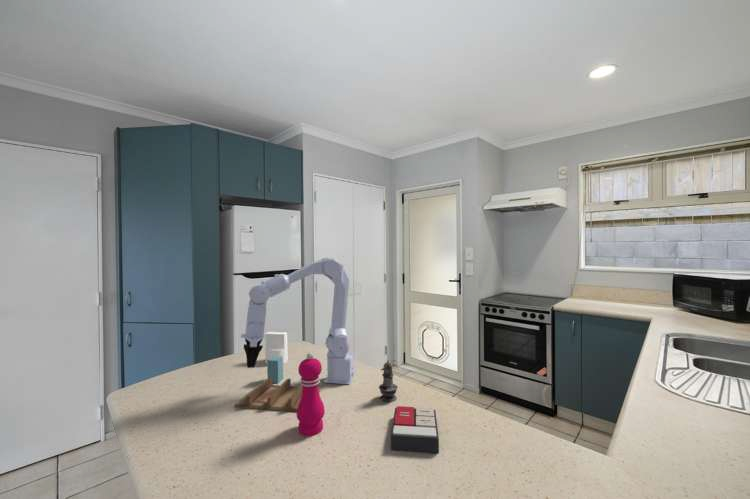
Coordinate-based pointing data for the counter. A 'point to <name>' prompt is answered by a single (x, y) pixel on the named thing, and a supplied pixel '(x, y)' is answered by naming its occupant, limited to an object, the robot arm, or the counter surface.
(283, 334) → the cylinder with rectangular tab
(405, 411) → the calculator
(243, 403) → the slot rack
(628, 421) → the counter surface
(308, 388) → the pepper mill
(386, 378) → the dark grey tall piece
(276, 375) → the plug block
